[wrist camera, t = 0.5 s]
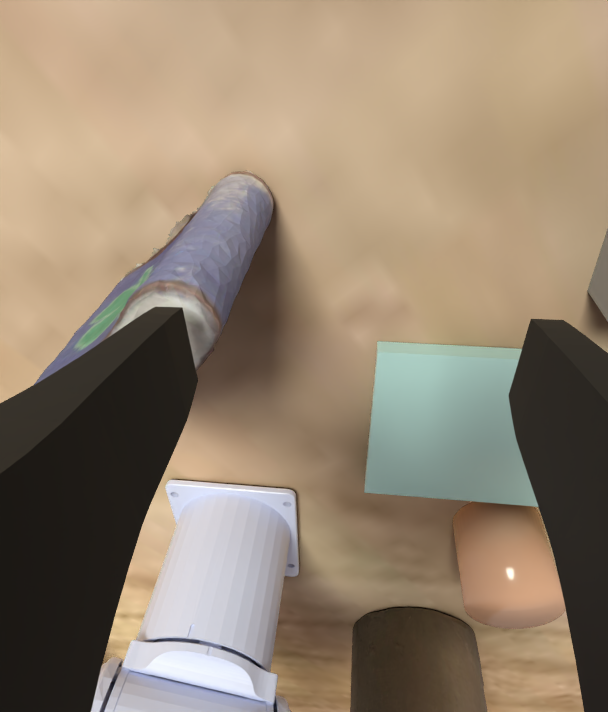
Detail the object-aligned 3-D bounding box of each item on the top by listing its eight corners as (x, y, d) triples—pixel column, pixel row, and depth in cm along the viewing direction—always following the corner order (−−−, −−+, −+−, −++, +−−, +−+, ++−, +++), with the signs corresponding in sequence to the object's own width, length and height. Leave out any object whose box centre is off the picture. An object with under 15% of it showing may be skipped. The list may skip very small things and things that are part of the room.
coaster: (544, 495, 28) (548, 507, 27) (364, 481, 29) (364, 492, 28) (609, 353, 22) (616, 364, 21) (377, 341, 23) (377, 352, 22)
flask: (243, 153, 18) (130, 315, 10) (297, 213, 19) (238, 403, 11) (105, 289, 23) (-54, 481, 14) (156, 331, 24) (37, 531, 15)
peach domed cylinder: (528, 549, 31) (550, 633, 27) (446, 541, 32) (456, 623, 28) (551, 500, 28) (580, 587, 24) (460, 493, 28) (474, 576, 25)
